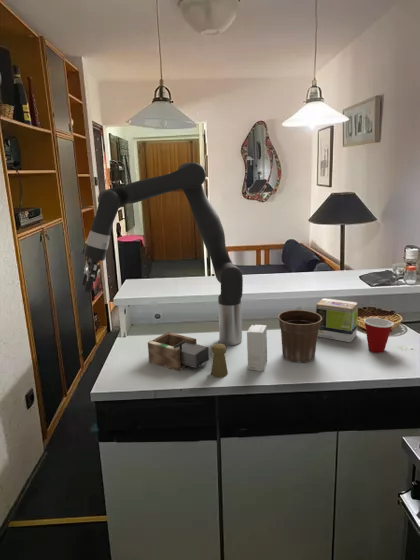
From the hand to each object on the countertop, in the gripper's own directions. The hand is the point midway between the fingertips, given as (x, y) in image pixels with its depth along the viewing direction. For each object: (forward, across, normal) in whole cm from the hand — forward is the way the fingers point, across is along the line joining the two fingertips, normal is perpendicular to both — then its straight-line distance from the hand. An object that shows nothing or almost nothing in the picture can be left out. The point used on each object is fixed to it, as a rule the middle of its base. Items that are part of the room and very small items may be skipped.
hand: (86, 288), depth 154 cm
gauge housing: (+19, -10, -37) cm, 43 cm away
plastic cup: (-6, -36, -107) cm, 113 cm away
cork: (+15, -27, -48) cm, 57 cm away
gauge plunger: (+16, -18, -40) cm, 46 cm away
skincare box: (+10, -28, -62) cm, 69 cm away
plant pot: (+4, -28, -79) cm, 84 cm away
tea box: (-4, -18, -102) cm, 104 cm away
